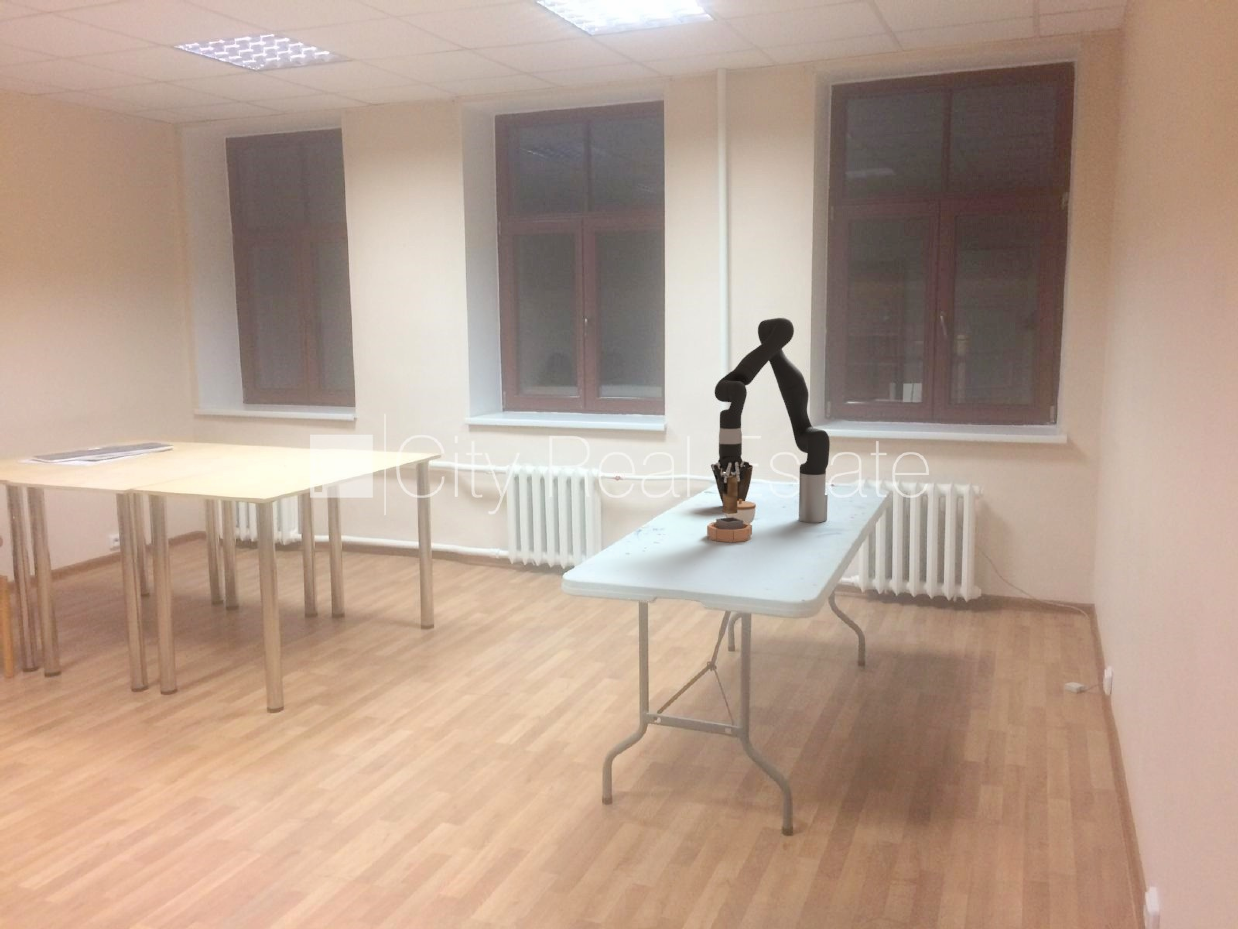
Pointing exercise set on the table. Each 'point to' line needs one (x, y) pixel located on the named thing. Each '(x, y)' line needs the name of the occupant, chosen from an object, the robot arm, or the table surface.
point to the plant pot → (743, 484)
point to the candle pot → (729, 530)
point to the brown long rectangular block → (730, 496)
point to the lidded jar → (744, 511)
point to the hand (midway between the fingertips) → (729, 492)
